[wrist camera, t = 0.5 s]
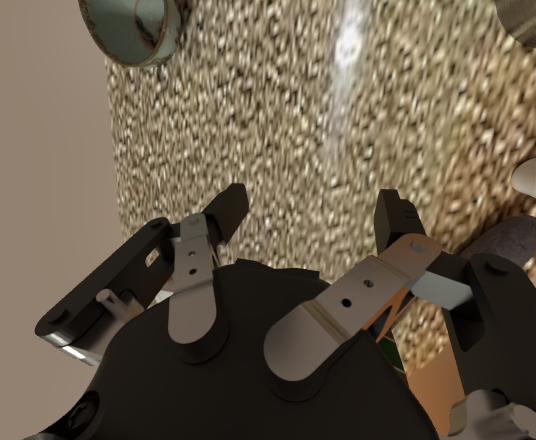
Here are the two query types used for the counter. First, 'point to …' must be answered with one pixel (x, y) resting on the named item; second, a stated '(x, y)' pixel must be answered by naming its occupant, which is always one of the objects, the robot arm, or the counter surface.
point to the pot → (518, 19)
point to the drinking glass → (525, 178)
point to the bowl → (134, 29)
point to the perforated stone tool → (507, 240)
